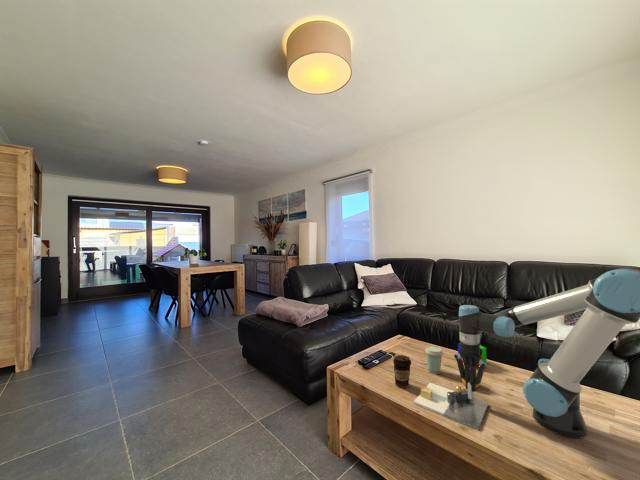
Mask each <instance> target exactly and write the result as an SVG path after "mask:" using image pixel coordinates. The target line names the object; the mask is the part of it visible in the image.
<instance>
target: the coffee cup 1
mask: <svg viewBox="0 0 640 480" xmlns="http://www.w3.org/2000/svg"><path fill="white" fill-rule="evenodd" d="M392 361H393V372H394V381H395V386H397V387H399V388H403V389H404V388H406V389H407V388H409V387H410V376H411V365H412V360H411V359H410V357H409V356H407V355H404V354H403V355H401V354H400V355H395V357H394V358H393V360H392Z"/></svg>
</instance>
